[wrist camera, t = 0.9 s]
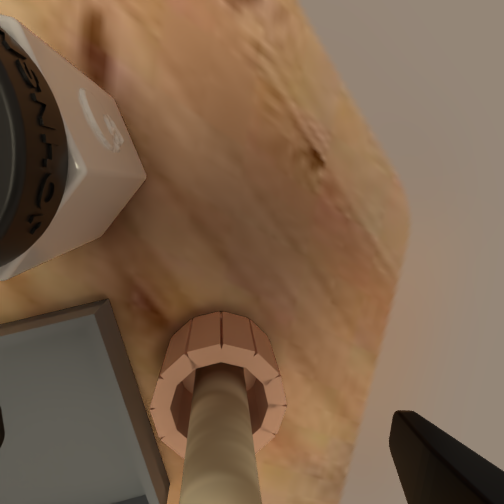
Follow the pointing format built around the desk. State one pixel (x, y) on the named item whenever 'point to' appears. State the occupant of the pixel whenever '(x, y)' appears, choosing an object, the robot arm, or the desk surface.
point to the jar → (56, 154)
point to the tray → (74, 414)
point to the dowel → (220, 440)
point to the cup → (211, 352)
